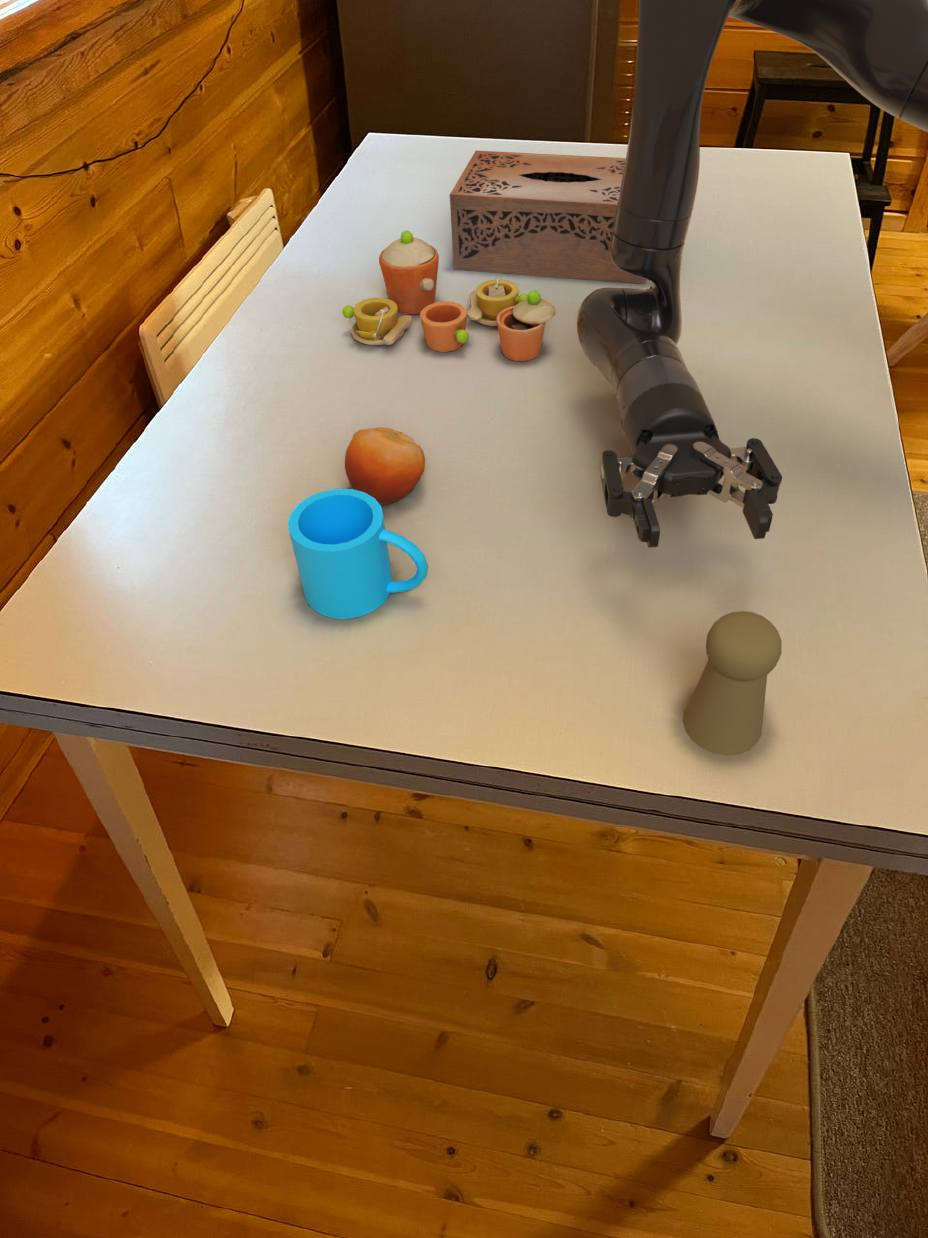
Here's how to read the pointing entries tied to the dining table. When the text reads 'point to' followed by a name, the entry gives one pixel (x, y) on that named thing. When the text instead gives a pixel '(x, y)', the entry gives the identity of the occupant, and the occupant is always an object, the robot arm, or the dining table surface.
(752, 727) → the cork
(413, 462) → the fruit
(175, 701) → the dining table surface
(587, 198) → the tissue box cover
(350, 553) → the mug
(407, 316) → the toy tea set
